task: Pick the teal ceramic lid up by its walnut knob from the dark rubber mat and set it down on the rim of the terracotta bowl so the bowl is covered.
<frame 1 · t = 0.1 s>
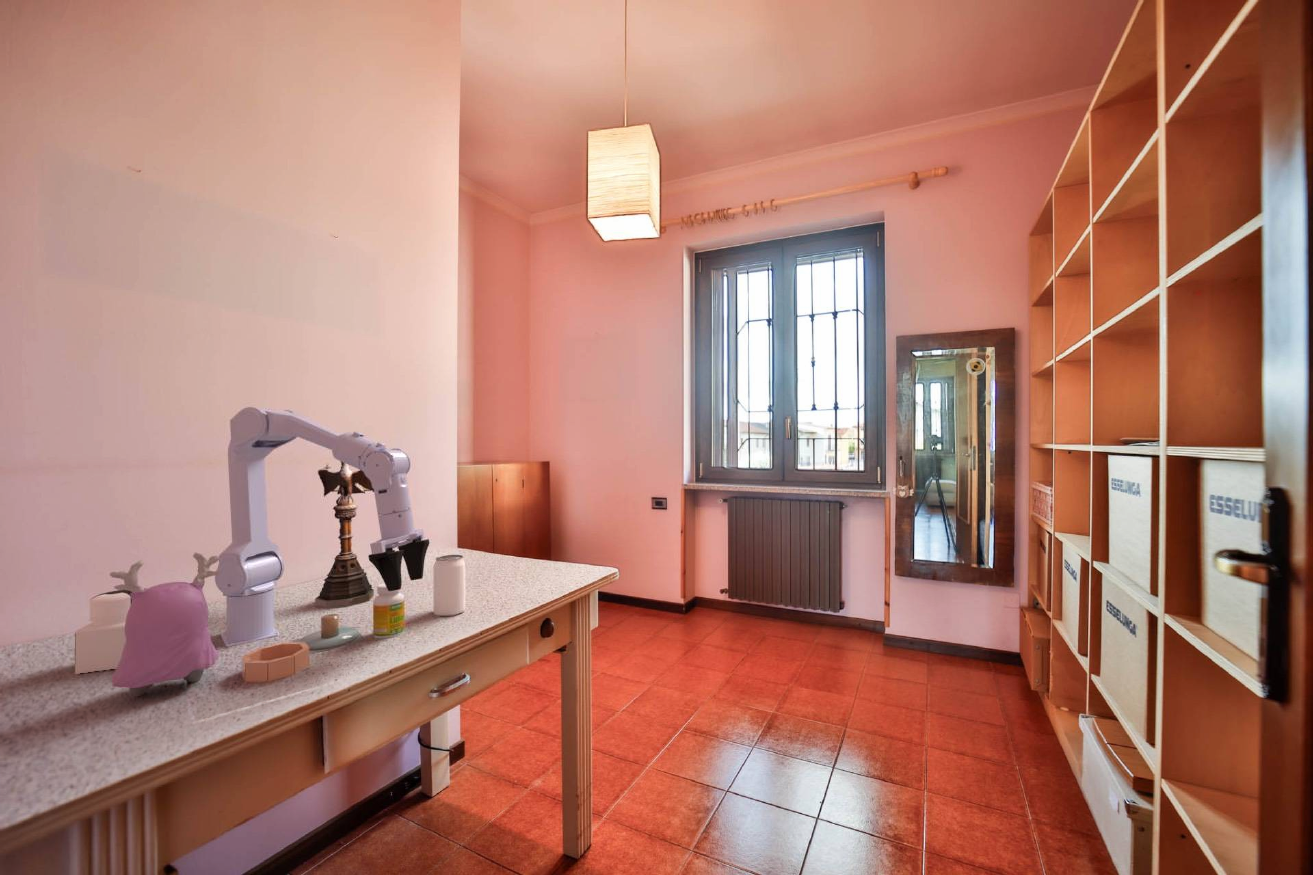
hand: (406, 584, 97), 11 cm above the table, tool pointing down, fingers open, 7 cm apart
lid: (329, 640, 97), resting on mat
bird statue: (343, 598, 126), on the table
mat: (329, 642, 97), on the table
supplement bottle: (389, 635, 100), on the table
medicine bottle: (115, 664, 88), on the table
toy character: (167, 689, 79), on the table
can: (449, 613, 114), on the table
bowl: (276, 671, 84), on the table
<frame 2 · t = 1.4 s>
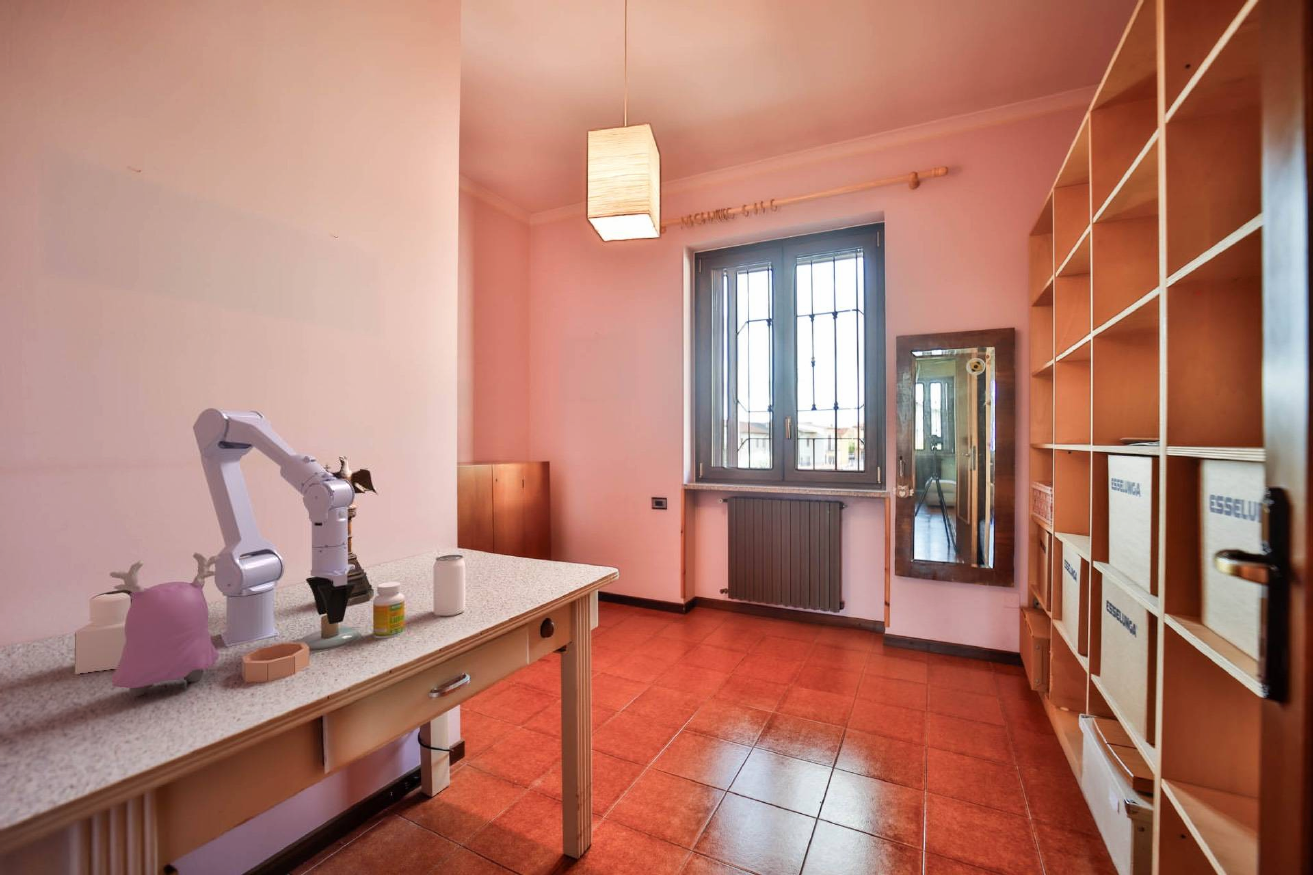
hand: (330, 617, 97), 5 cm above the table, tool pointing down, fingers open, 7 cm apart
nothing on the table moved.
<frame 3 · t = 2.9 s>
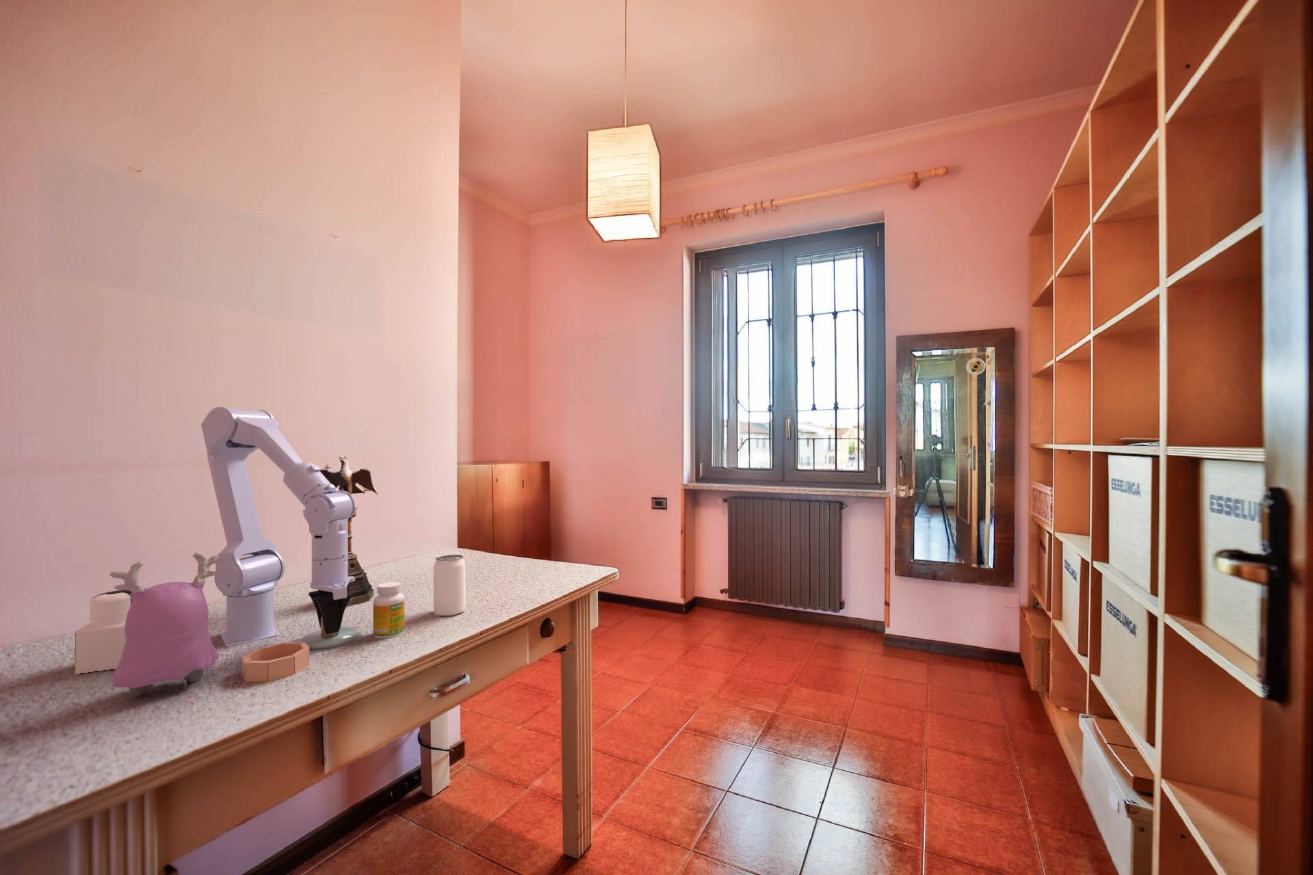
hand: (329, 630, 97), 2 cm above the table, tool pointing down, fingers closed on lid, 3 cm apart
lid: (329, 640, 97), resting on mat, touching gripper
everything else where it was.
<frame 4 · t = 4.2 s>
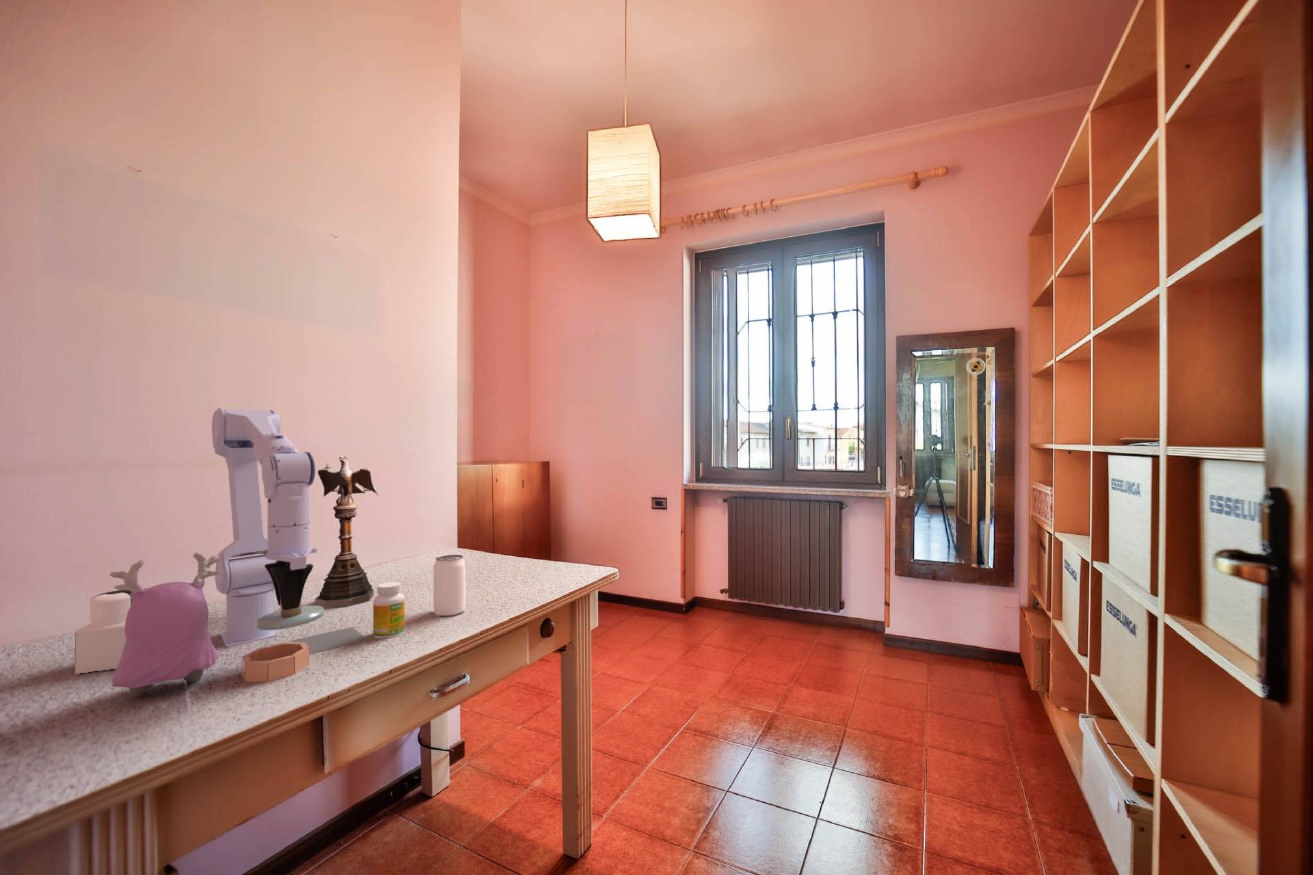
hand: (288, 606, 87), 10 cm above the table, tool pointing down, fingers closed on lid, 3 cm apart
lid: (291, 619, 87), point 8 cm above the table, touching gripper
everything else where it was.
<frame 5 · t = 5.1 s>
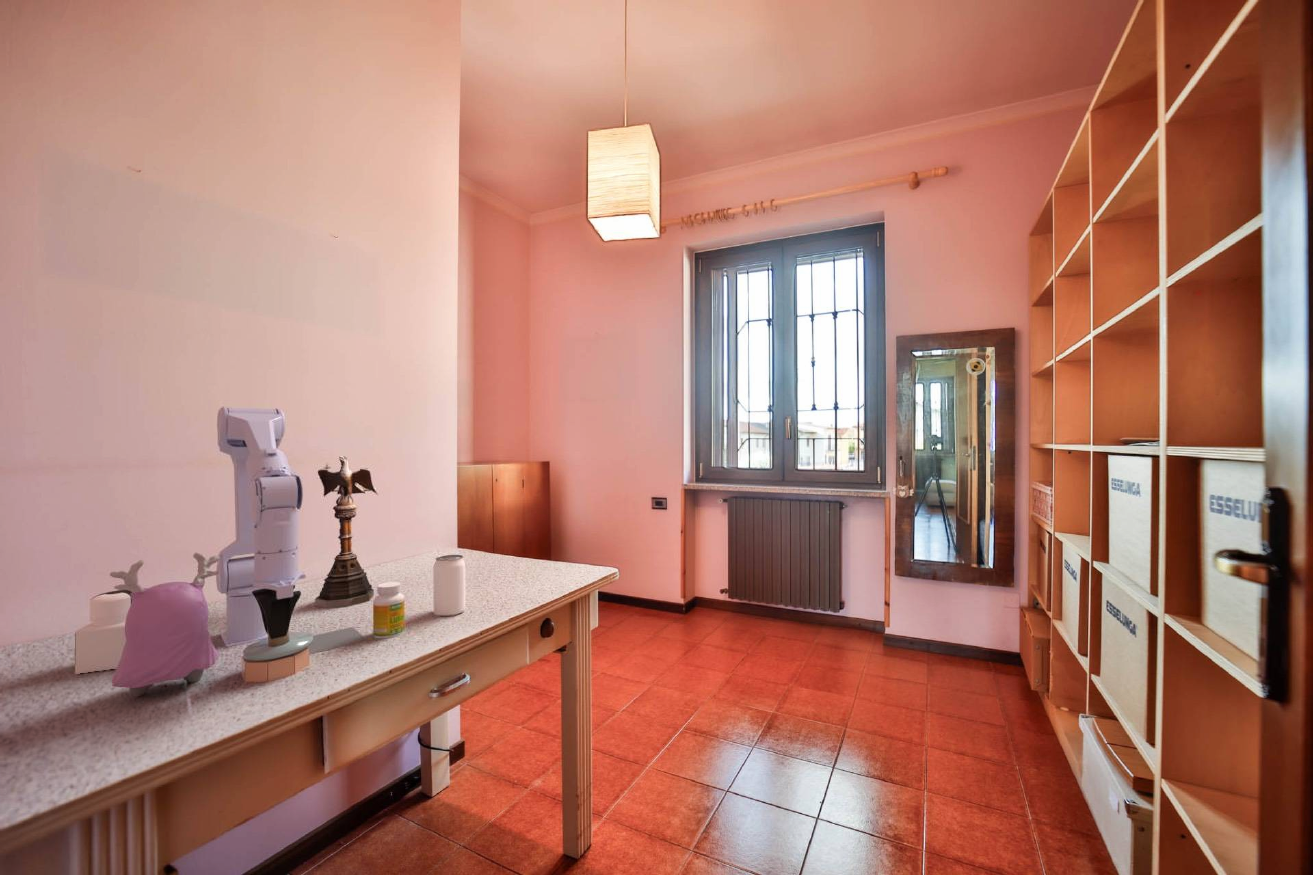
hand: (276, 634, 84), 6 cm above the table, tool pointing down, fingers closed on lid, 3 cm apart
lid: (279, 648, 84), point 4 cm above the table, touching gripper
everything else where it was.
when the fingers open (6 cm above the table, at t = 5.7 s): lid stays where it is, resting on bowl.
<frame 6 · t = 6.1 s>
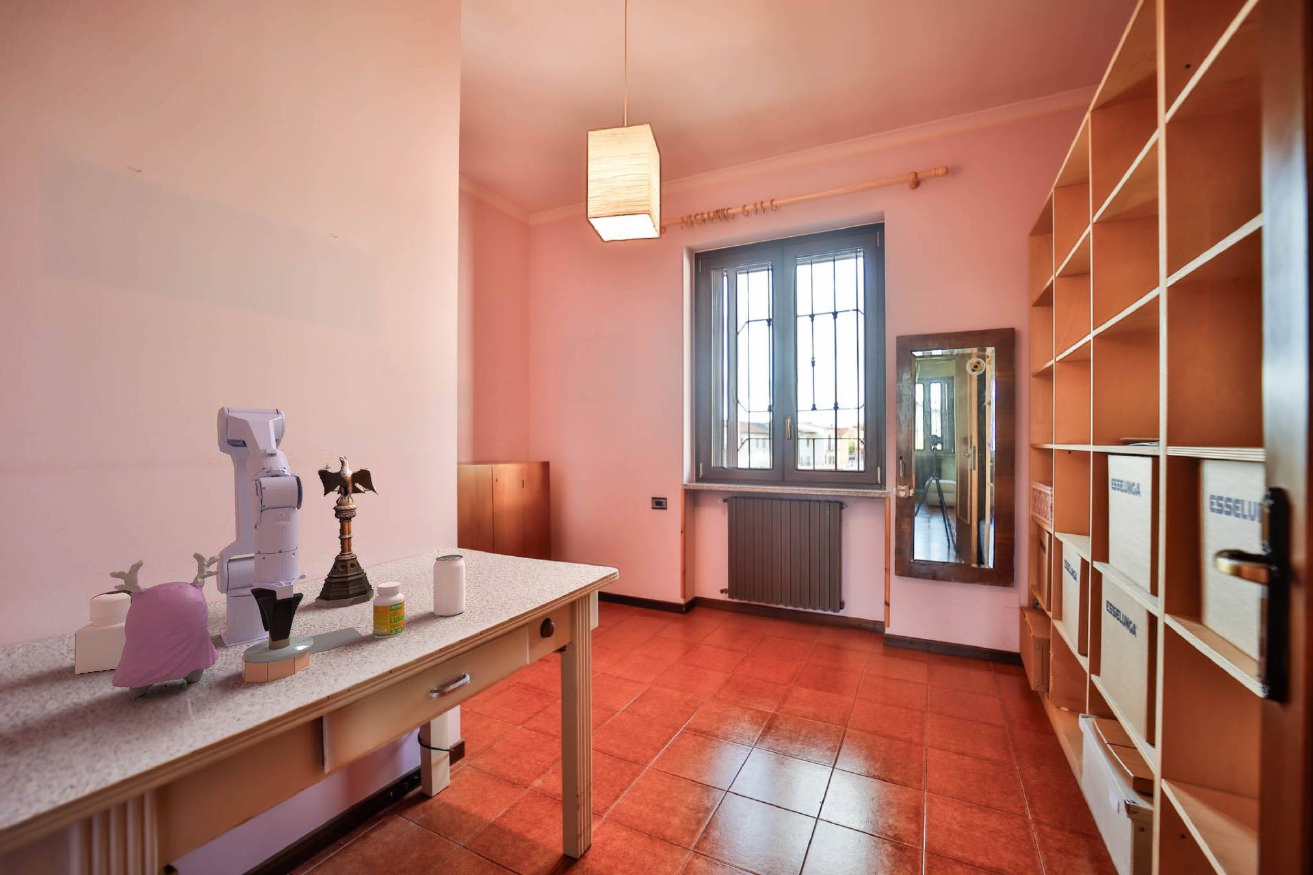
hand: (276, 634, 84), 6 cm above the table, tool pointing down, fingers open, 6 cm apart
lid: (279, 651, 84), point 3 cm above the table, touching bowl
everything else where it was.
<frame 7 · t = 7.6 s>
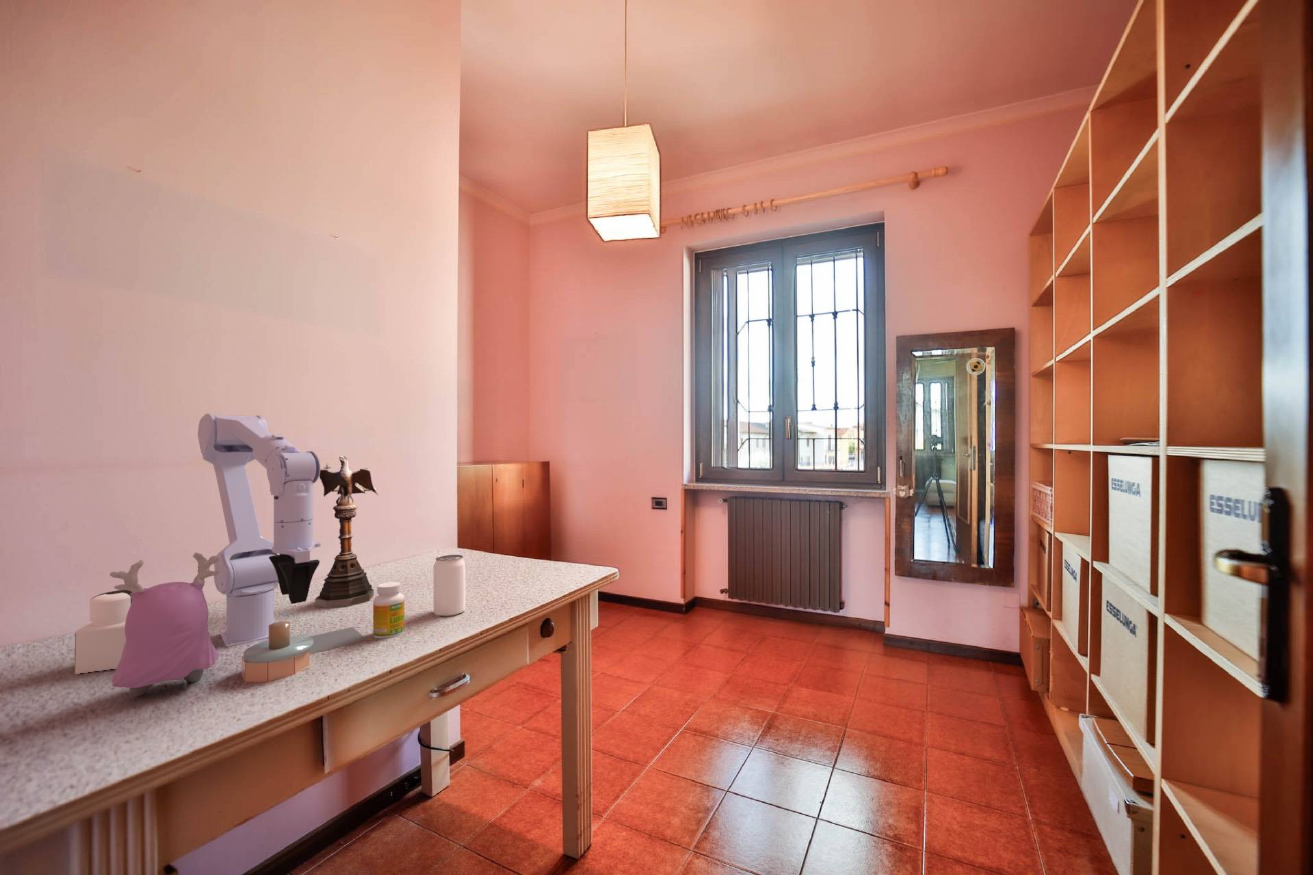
hand: (293, 597, 91), 10 cm above the table, tool pointing down, fingers open, 7 cm apart
nothing on the table moved.
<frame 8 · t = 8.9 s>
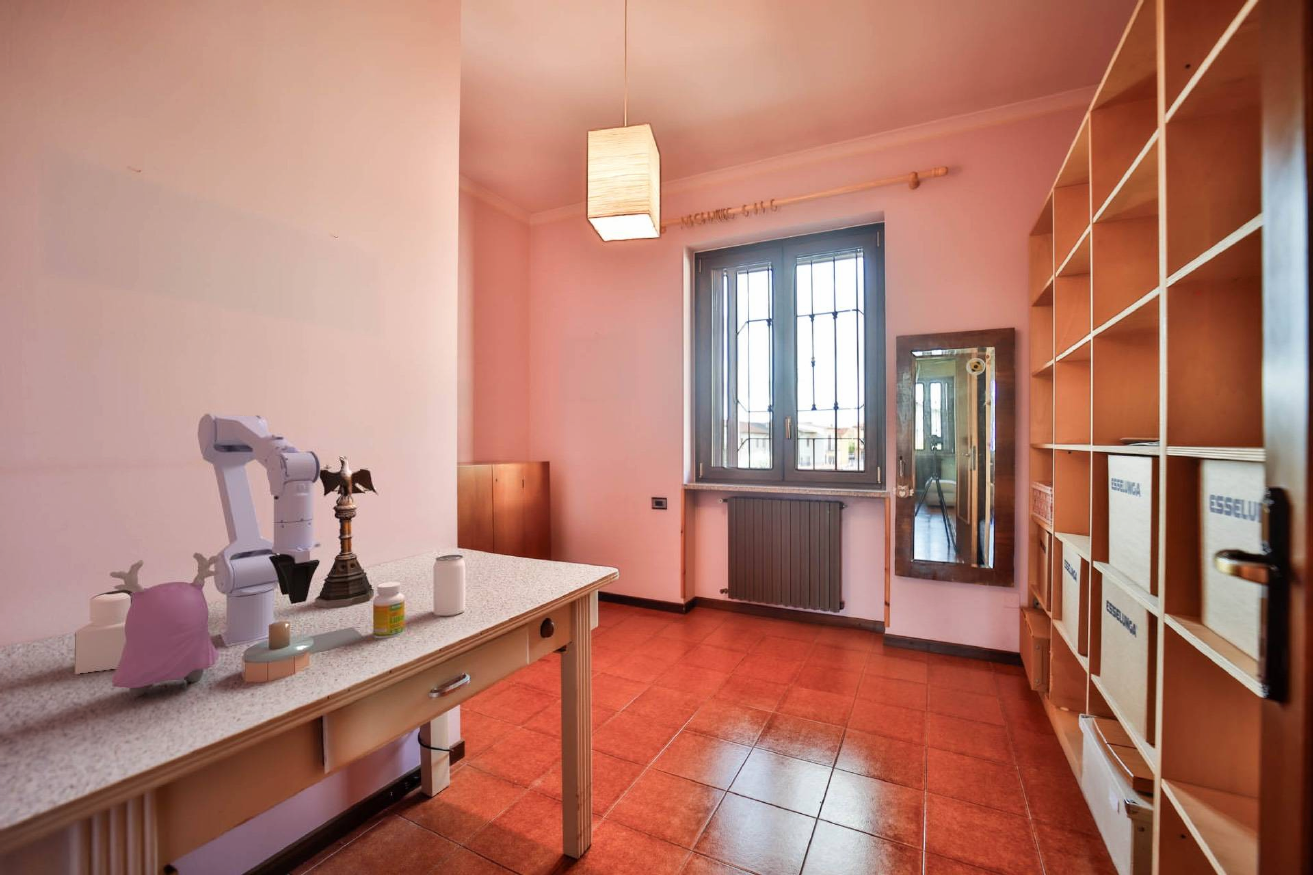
hand: (293, 597, 91), 10 cm above the table, tool pointing down, fingers open, 7 cm apart
nothing on the table moved.
at the end: lid 0.4 cm off-centre on the bowl, point 3.2 cm above the bowl's base; lid tilted 0°; the gripper is holding nothing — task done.
